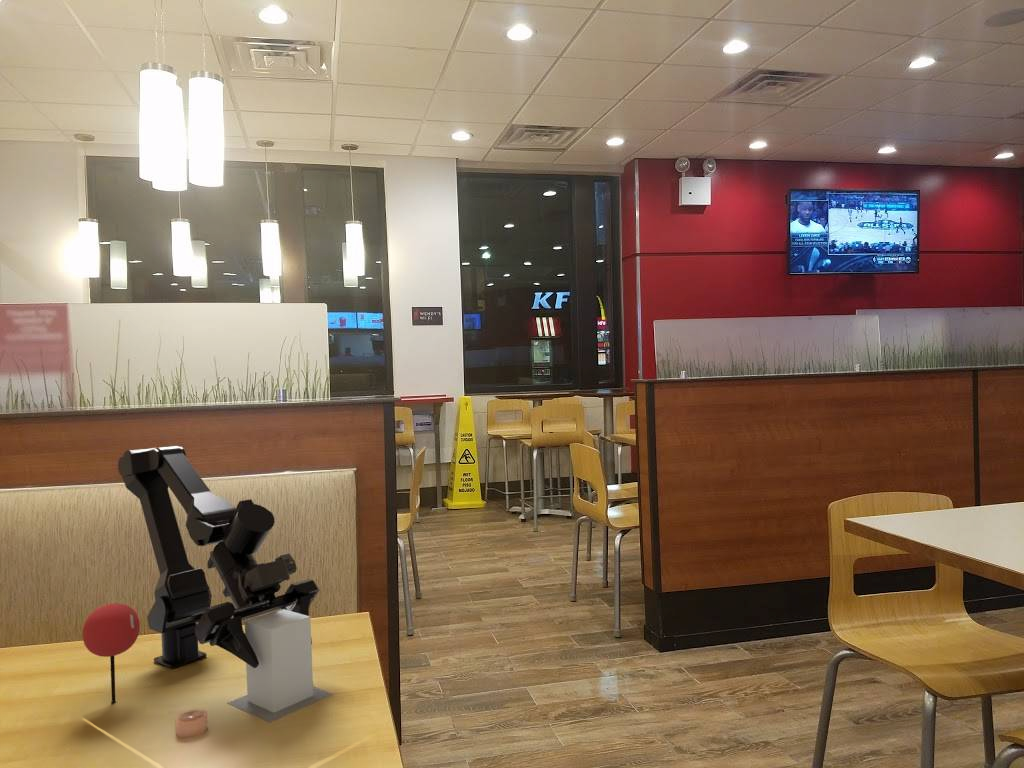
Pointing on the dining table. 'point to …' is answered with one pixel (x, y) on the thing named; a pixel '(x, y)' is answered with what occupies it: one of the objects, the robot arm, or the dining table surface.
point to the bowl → (191, 723)
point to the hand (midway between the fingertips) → (284, 655)
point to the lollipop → (111, 633)
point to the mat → (271, 716)
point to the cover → (280, 660)
